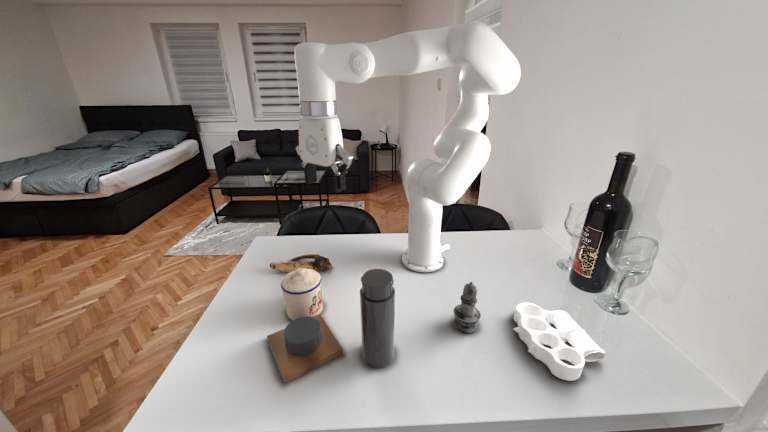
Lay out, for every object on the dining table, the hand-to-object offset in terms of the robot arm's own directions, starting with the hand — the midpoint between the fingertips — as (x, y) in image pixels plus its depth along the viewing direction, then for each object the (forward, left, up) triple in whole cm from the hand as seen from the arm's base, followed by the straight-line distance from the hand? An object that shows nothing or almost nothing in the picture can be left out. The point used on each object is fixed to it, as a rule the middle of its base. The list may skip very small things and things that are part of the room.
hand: (325, 186), depth 71 cm
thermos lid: (+14, +16, -27) cm, 34 cm away
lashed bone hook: (+4, -13, -28) cm, 32 cm away
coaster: (+14, +16, -28) cm, 35 cm away
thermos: (+2, +26, -28) cm, 39 cm away
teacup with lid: (+9, +4, -28) cm, 30 cm away
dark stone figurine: (-19, +30, -28) cm, 46 cm away
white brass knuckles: (-30, +44, -28) cm, 60 cm away
